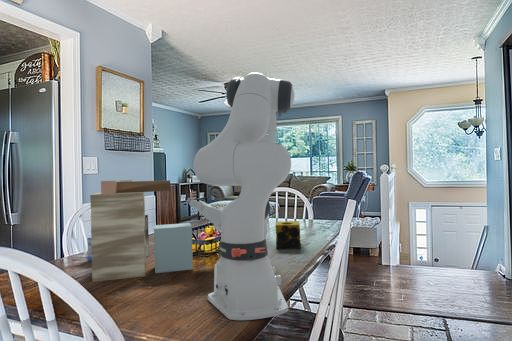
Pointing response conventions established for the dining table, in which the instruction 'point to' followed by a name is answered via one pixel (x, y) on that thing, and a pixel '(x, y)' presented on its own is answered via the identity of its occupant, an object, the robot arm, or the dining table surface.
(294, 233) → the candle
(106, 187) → the terracotta block
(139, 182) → the rail
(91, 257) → the medicine box
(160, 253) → the step
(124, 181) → the cream block
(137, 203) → the grey wood block
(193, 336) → the dining table surface
